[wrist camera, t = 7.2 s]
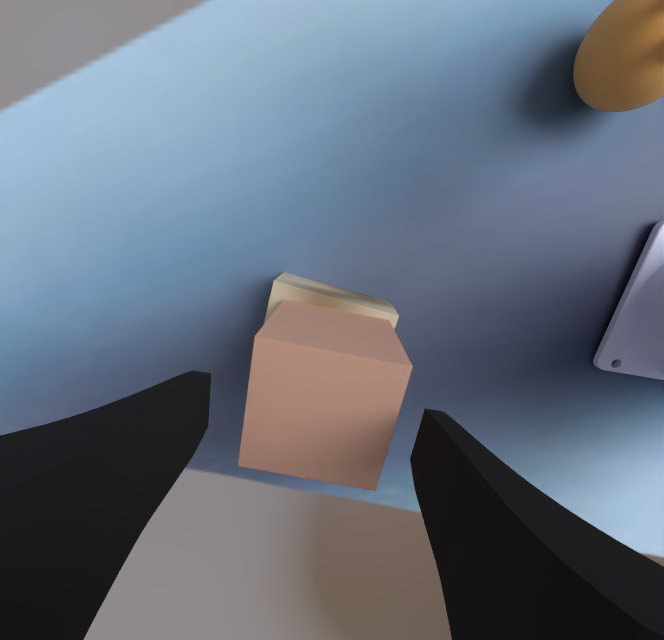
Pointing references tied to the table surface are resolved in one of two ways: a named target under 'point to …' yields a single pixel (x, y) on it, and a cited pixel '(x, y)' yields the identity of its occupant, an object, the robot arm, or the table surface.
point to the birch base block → (327, 298)
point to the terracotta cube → (323, 395)
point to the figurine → (622, 57)
